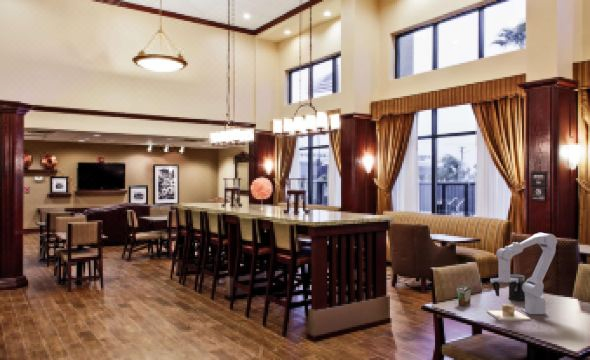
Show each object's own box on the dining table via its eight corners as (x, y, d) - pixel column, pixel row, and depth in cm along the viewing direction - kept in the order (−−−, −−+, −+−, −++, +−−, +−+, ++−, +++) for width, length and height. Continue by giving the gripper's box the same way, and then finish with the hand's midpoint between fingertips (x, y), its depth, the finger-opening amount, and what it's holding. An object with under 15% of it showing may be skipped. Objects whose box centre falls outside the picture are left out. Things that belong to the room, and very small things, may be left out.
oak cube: (514, 314, 227) (514, 304, 227) (513, 316, 223) (512, 307, 223) (504, 312, 230) (504, 303, 230) (502, 314, 226) (502, 305, 226)
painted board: (516, 312, 234) (516, 310, 234) (530, 320, 220) (530, 318, 220) (487, 312, 234) (487, 310, 234) (499, 320, 220) (499, 318, 220)
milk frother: (504, 298, 263) (504, 274, 263) (525, 296, 268) (525, 272, 268) (522, 304, 250) (522, 279, 250) (544, 302, 254) (544, 277, 254)
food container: (460, 301, 256) (460, 284, 256) (471, 303, 252) (471, 286, 253) (453, 305, 247) (453, 288, 247) (464, 307, 243) (464, 290, 243)
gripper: (513, 269, 237) (513, 293, 237) (487, 269, 237) (487, 294, 236) (520, 271, 230) (520, 297, 230) (493, 271, 230) (494, 297, 229)
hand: (504, 295), depth 233 cm, fingers open, 7 cm apart
